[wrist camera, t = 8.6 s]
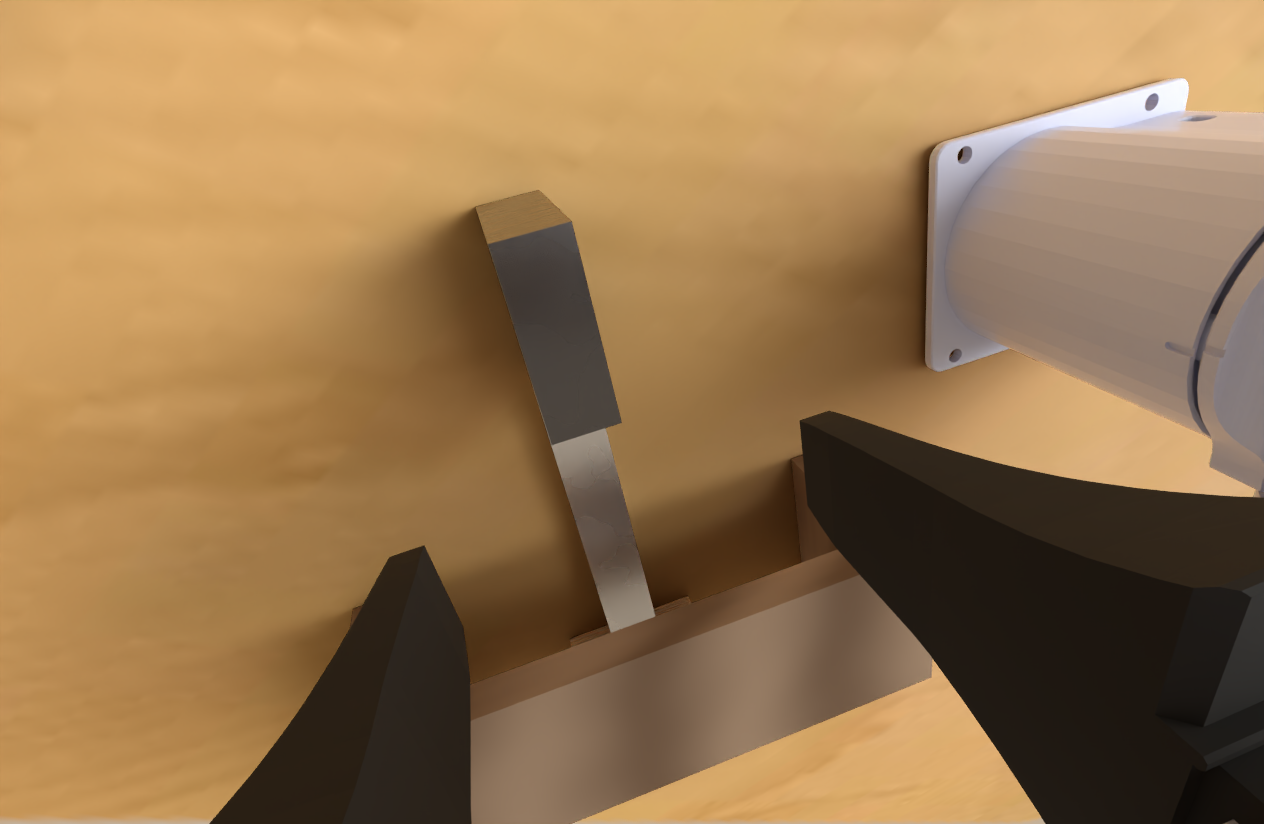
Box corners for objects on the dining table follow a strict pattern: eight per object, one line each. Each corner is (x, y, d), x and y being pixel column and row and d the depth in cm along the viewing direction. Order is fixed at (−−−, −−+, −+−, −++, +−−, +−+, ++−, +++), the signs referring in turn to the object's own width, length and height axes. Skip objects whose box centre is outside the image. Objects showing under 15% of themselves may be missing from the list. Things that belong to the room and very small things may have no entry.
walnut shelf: (827, 446, 24) (936, 545, 19) (834, 562, 27) (931, 677, 22) (353, 608, 22) (326, 774, 17) (417, 717, 25) (411, 889, 20)
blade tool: (417, 222, 17) (410, 265, 13) (593, 175, 18) (643, 201, 14) (575, 655, 26) (604, 769, 21) (691, 613, 26) (741, 714, 22)
